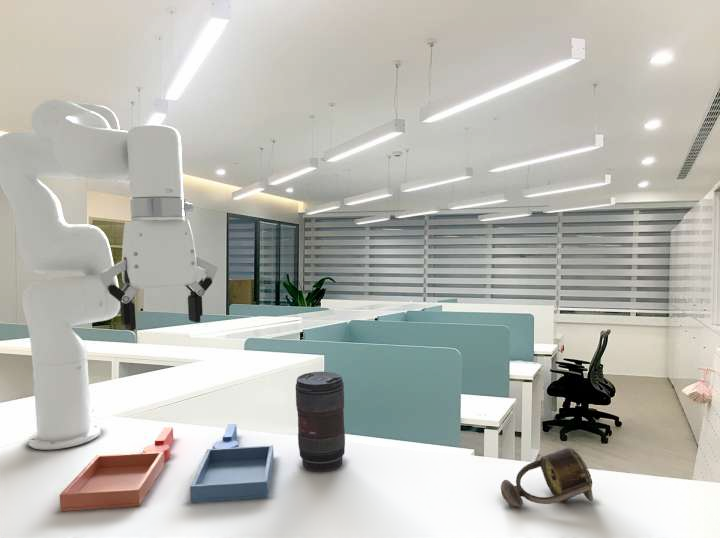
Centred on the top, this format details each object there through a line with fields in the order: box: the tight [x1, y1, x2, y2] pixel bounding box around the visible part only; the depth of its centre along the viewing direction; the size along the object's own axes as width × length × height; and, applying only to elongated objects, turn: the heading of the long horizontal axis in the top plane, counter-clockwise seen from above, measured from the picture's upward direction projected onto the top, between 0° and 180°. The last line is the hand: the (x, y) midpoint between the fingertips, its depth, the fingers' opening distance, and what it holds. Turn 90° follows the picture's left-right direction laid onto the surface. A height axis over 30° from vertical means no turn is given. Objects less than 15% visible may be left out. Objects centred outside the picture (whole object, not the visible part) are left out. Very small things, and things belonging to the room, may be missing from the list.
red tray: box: [59, 452, 166, 512], centre depth 92 cm, size 15×11×2 cm
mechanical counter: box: [500, 446, 594, 508], centre depth 84 cm, size 7×13×10 cm
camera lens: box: [295, 371, 346, 472], centre depth 98 cm, size 8×8×15 cm
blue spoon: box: [212, 423, 239, 449], centre depth 107 cm, size 11×4×3 cm, turn 5°
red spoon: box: [142, 426, 174, 462], centre depth 106 cm, size 11×4×3 cm, turn 5°
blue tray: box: [189, 444, 275, 504], centre depth 94 cm, size 15×11×2 cm
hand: (163, 325), depth 88 cm, fingers open, 9 cm apart
